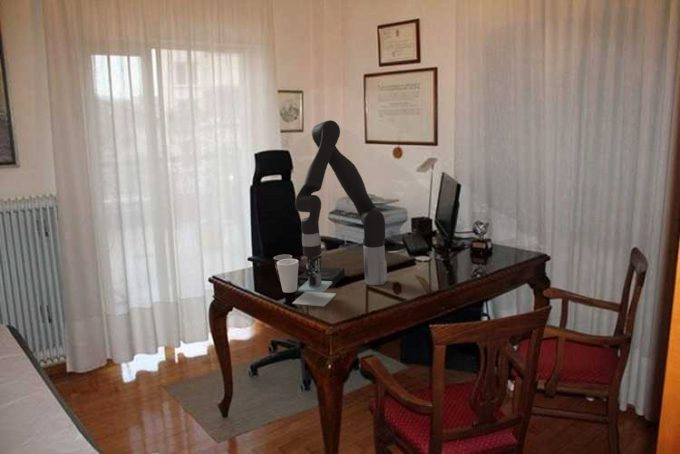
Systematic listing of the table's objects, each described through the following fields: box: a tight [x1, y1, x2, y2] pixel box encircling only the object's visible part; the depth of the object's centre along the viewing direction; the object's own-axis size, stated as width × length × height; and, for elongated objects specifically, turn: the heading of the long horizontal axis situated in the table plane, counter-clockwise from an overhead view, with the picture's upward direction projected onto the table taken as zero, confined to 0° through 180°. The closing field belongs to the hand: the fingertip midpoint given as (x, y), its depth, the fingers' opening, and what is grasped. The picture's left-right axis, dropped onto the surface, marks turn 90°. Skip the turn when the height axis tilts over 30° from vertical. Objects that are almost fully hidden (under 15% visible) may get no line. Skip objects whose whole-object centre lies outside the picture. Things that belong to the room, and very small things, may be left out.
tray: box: [291, 291, 337, 307], centre depth 236 cm, size 14×14×1 cm
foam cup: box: [277, 258, 300, 294], centre depth 247 cm, size 10×9×13 cm
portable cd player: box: [297, 266, 346, 288], centre depth 259 cm, size 16×17×4 cm
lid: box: [297, 272, 332, 293], centre depth 234 cm, size 11×11×6 cm
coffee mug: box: [273, 254, 293, 280], centre depth 266 cm, size 12×9×10 cm
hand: (315, 283), depth 234 cm, fingers closed on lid, 4 cm apart
